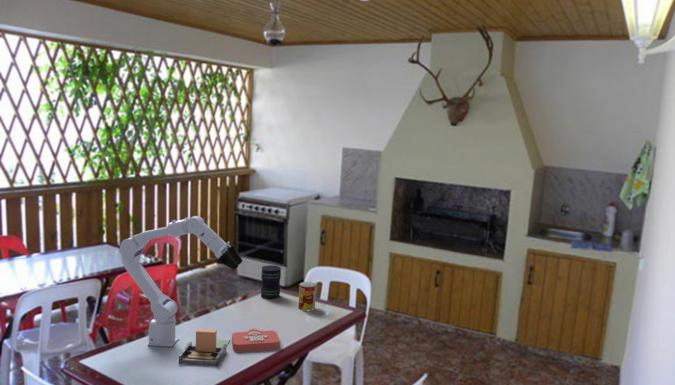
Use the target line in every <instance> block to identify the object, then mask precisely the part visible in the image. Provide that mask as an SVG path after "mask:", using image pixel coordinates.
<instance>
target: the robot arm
mask: <svg viewBox="0 0 675 385" xmlns="http://www.w3.org/2000/svg"><path fill="white" fill-rule="evenodd" d="M188 234H191V235H194V236H196V237H197V238H198V239H199V240H200V241H201V242H202V243H203V244H204V245H205V246H206V247H207V248H208V249H209V250H211V252H212V253H214V256H215V257H216V258H217V260H216V262H217V263H218V264H222V265H224V266H227V267H229V268H230V269H232V270H234V271H235V270H237V268H238V267H239V266H240V265H241V264H242V263H243V262H244V260H243V258H242V257H241V256H240V254H239V253H238V251H237V248H236V246H235V244H232V245H230V243H231V242H230V241H227V242H226V241H224V240H223V238H221V237H220V236H219V235H218V234H217V233H216V231H214V230H213V229H212V228H211V227H209V225H207V224H206V223H205V219H204V218H203V217H202V216H200V215H193V216H191V217H190V218H189V216H188V217H184V219H179V220H176V219H173V220H171V222H169V223H168V225H167V226H164V227H159V228H156V229H150V230H145V231H141V232H140V233H138V234H134V235H133V236H130V237H129V238H125V239H123V240H122V241H121V242H120V246H119V250H118V252H119V254H120V255H121V261H122V265H123V268H124V269H125V270H126V272H127V273H128V274H129V276H130V277H131V278H132V279H133V281H134V283H136V285H137V286H138V288H139V289H140V291H141V292H142V293H143V294H144V296H145V297H146V299H147V300H148V301H149V303H150V311H151V313H152V314H153V319H151V320H150V323H149V324H148V343H147V345H148V346H154V347H155V346H157V347H173V346H174V345H175V344H176V343H177V341H178V340H179V339H180V338H179V337H176V321H177V319H176V313H178V309H179V306H178V304H177V302H176V301H175V300H173V299H171V298H170V297H169V295H166V294H164V292H162V291H161V289H160V288H159V287H158V285H157V284H156V282H155V281H154V280H153V279H152V277H151V276H150V274H149V273H148V272H147V270H146V269H145V268H144V266H143V265H142V263H141V262H140V258H141V255H142V252H143V251H144V250H145V248H146V246H147V243H149V242H150V241H151V240H154V239H158V238H162V237H166V236H170V237H171V238H176V237H181V236H184V235H188Z"/></svg>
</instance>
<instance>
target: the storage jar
mask: <svg viewBox="0 0 675 385" xmlns="http://www.w3.org/2000/svg"><path fill="white" fill-rule="evenodd" d="M281 269H282V268H281V266H278V265H264V266H262V267H261V273H260V274H261V276H260V277H261V286H260V298H262V299H264V300H277V299H279V298H280V294H281V278H282V273H281V272H282V270H281Z"/></svg>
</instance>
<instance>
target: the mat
mask: <svg viewBox="0 0 675 385" xmlns="http://www.w3.org/2000/svg"><path fill="white" fill-rule="evenodd" d="M230 342H231V340H229V339H217V338H216V347H223V345H224V344H226V348H228V345H229V343H230ZM194 346H196V343H195V344H194Z"/></svg>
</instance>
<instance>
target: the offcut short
mask: <svg viewBox="0 0 675 385" xmlns="http://www.w3.org/2000/svg"><path fill="white" fill-rule="evenodd" d="M191 355H199V356H211V353H198V352H192V353H191Z"/></svg>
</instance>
